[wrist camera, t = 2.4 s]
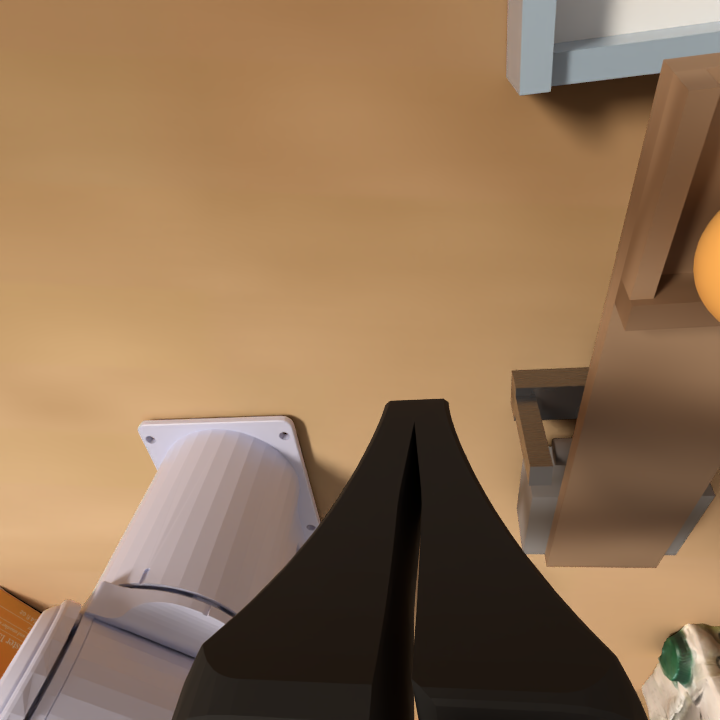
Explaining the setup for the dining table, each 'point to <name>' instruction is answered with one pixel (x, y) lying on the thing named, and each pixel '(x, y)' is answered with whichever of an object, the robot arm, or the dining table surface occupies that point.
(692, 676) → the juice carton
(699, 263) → the ball
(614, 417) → the lever
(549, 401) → the fulcrum
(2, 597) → the small box
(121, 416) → the dining table surface
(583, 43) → the shallow blue tray
